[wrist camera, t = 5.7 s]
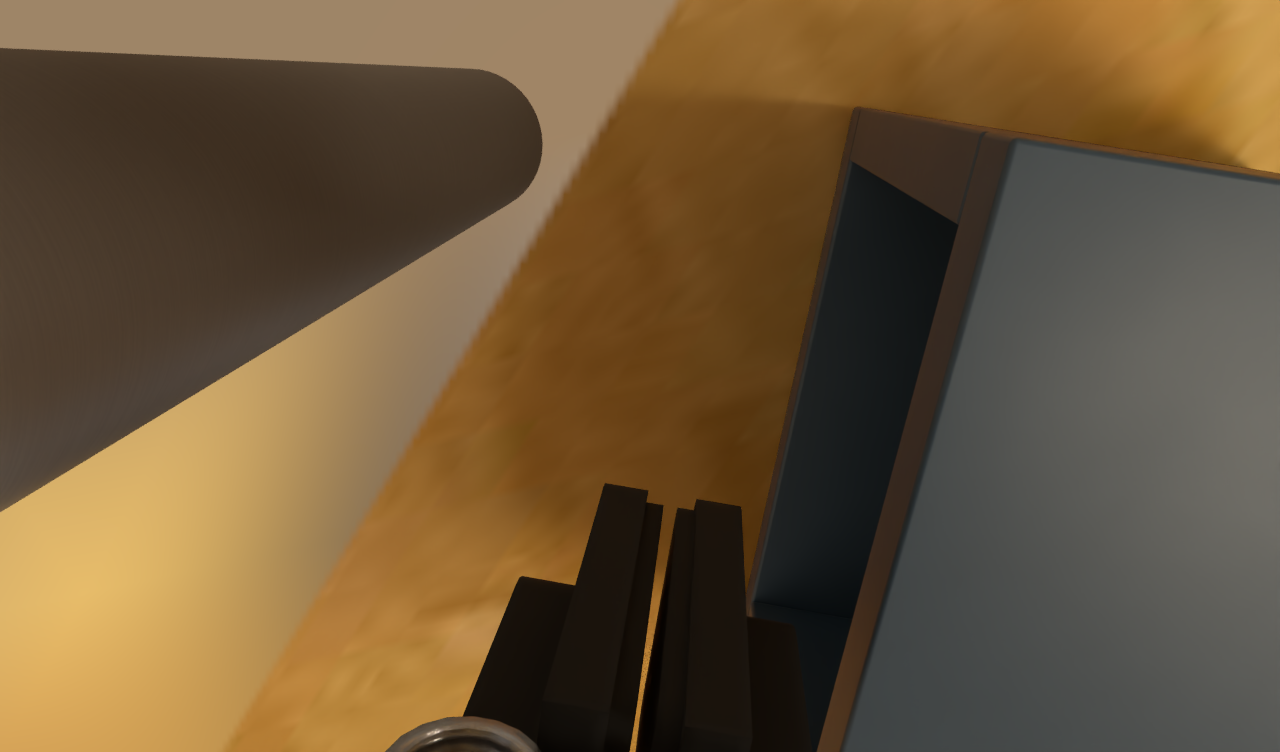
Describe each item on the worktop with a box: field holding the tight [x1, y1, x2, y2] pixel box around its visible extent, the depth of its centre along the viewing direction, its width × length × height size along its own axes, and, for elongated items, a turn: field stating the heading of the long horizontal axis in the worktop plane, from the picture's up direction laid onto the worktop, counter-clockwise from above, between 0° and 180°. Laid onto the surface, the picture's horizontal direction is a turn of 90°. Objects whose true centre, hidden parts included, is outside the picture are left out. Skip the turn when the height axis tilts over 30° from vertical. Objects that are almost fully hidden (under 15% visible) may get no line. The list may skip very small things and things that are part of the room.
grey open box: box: [746, 107, 1280, 752], centre depth 15 cm, size 8×12×10 cm, turn 171°
